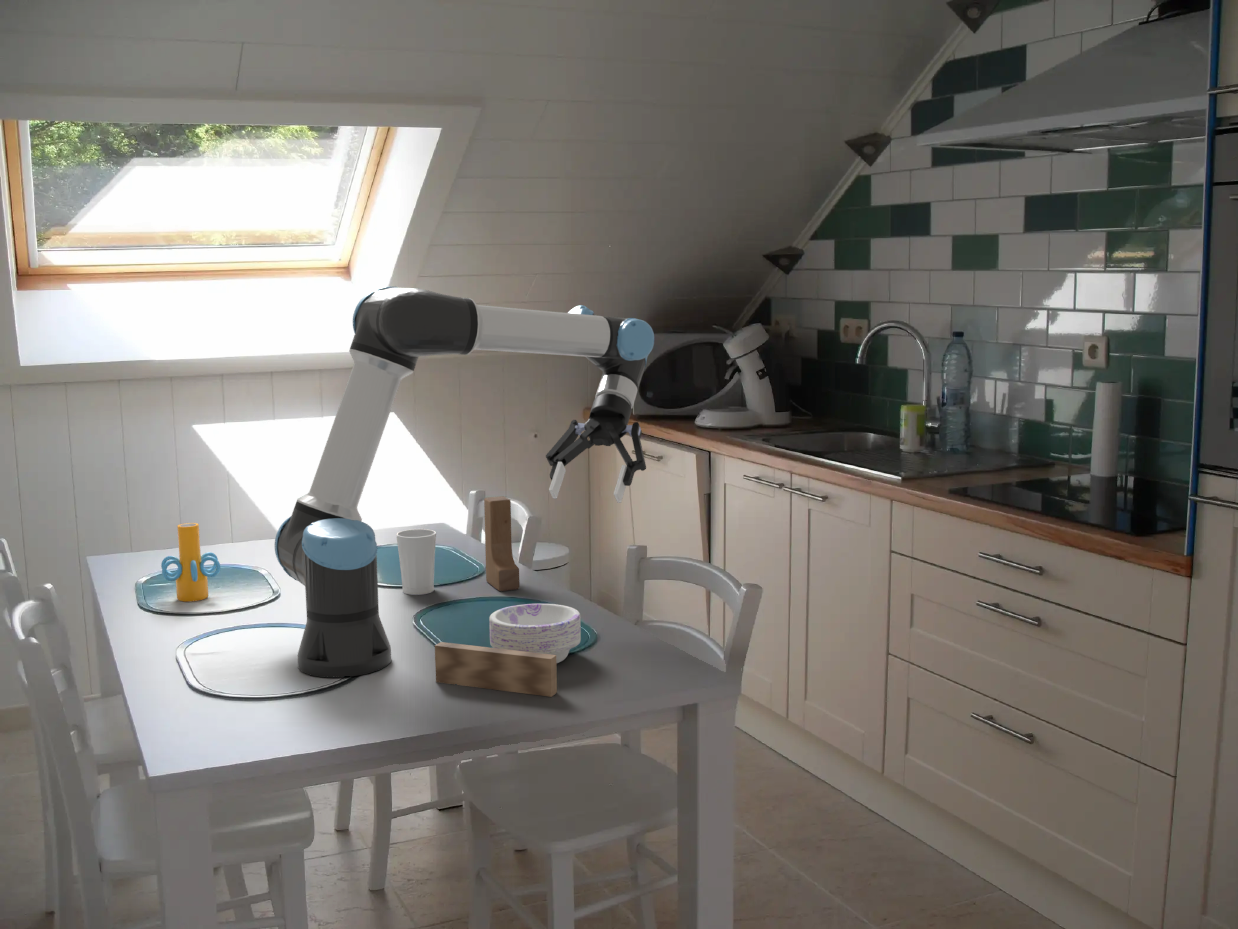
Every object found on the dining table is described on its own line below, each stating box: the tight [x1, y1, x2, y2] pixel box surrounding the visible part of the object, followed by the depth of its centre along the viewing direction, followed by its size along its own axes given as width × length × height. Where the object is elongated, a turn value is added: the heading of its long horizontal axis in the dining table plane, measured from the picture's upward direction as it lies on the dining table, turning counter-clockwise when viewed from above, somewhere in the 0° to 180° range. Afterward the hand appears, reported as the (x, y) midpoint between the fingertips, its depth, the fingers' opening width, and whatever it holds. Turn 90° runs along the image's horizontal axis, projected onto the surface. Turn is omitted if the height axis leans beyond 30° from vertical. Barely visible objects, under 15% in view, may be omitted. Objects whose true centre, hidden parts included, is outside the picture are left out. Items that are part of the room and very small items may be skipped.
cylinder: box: [160, 522, 221, 603], centre depth 239 cm, size 12×10×15 cm
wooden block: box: [483, 495, 520, 592], centre depth 246 cm, size 9×4×18 cm, turn 24°
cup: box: [396, 528, 437, 596], centre depth 243 cm, size 8×8×12 cm
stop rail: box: [434, 641, 558, 698], centre depth 186 cm, size 20×2×6 cm, turn 69°
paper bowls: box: [488, 603, 582, 665], centre depth 200 cm, size 15×15×8 cm
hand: (584, 496), depth 218 cm, fingers open, 12 cm apart
